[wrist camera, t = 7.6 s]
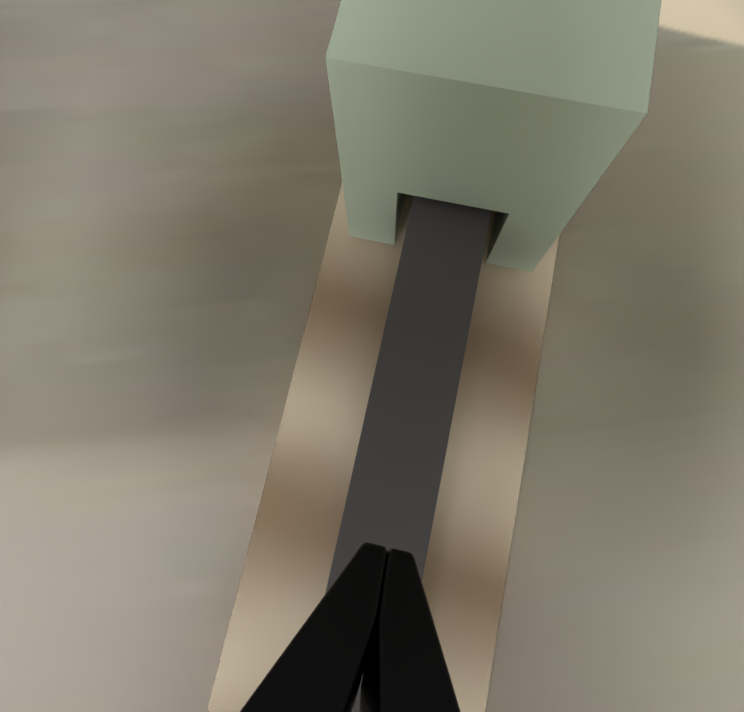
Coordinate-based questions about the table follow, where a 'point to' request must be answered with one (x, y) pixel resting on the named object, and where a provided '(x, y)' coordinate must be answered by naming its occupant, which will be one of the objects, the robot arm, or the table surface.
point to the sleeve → (486, 109)
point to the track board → (338, 452)
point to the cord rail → (414, 385)
